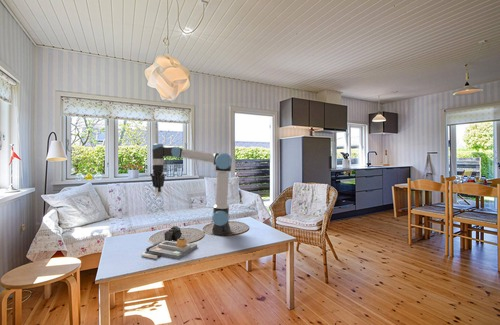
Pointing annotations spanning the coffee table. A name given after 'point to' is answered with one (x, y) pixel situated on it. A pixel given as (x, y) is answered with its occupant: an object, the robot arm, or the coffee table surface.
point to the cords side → (152, 246)
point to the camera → (173, 234)
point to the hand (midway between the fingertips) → (158, 196)
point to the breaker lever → (181, 242)
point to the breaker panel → (173, 249)
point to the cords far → (150, 255)
